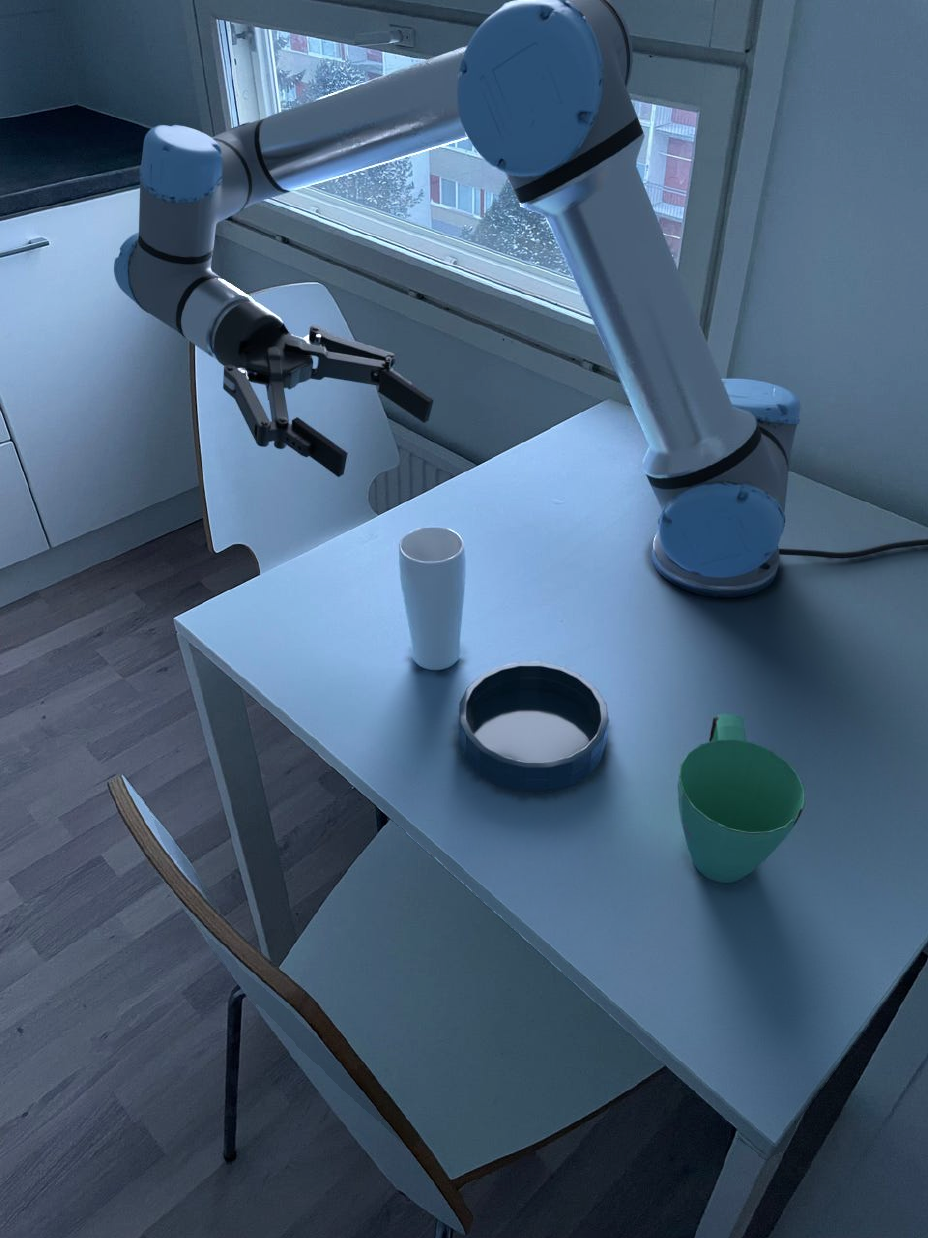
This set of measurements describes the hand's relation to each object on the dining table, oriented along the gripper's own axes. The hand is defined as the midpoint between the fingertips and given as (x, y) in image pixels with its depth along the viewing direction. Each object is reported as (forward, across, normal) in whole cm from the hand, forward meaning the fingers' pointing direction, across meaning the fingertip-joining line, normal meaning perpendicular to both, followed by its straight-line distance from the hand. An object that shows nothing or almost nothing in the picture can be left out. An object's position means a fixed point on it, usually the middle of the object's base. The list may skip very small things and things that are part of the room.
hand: (388, 437), depth 90 cm
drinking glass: (+14, +4, -20) cm, 25 cm away
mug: (+48, +9, -9) cm, 49 cm away
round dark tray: (+29, +8, -15) cm, 33 cm away
